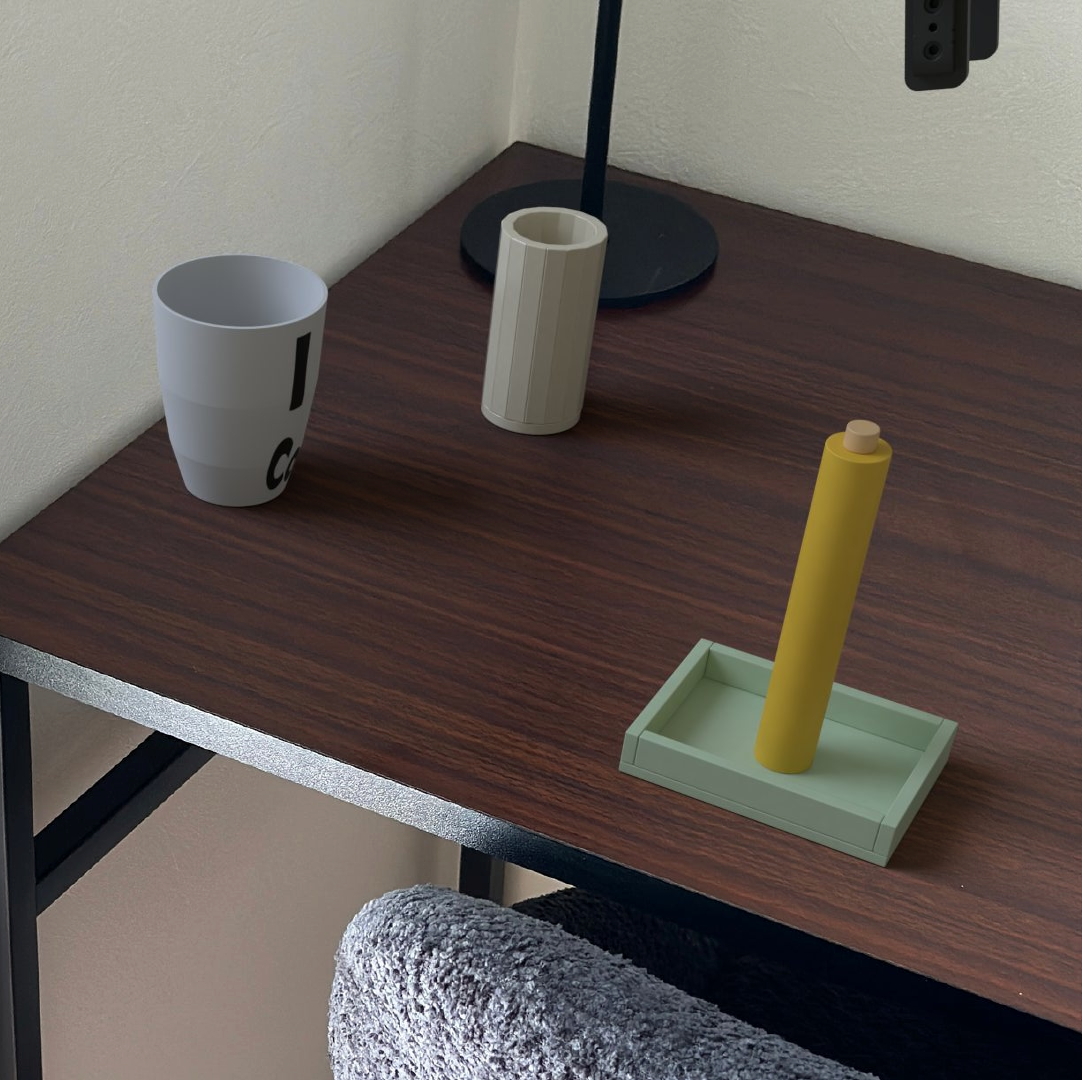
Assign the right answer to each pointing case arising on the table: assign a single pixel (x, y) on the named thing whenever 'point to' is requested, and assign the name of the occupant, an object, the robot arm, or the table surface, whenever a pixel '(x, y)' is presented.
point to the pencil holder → (542, 319)
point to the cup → (238, 370)
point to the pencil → (822, 596)
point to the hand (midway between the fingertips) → (953, 73)
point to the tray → (776, 798)
